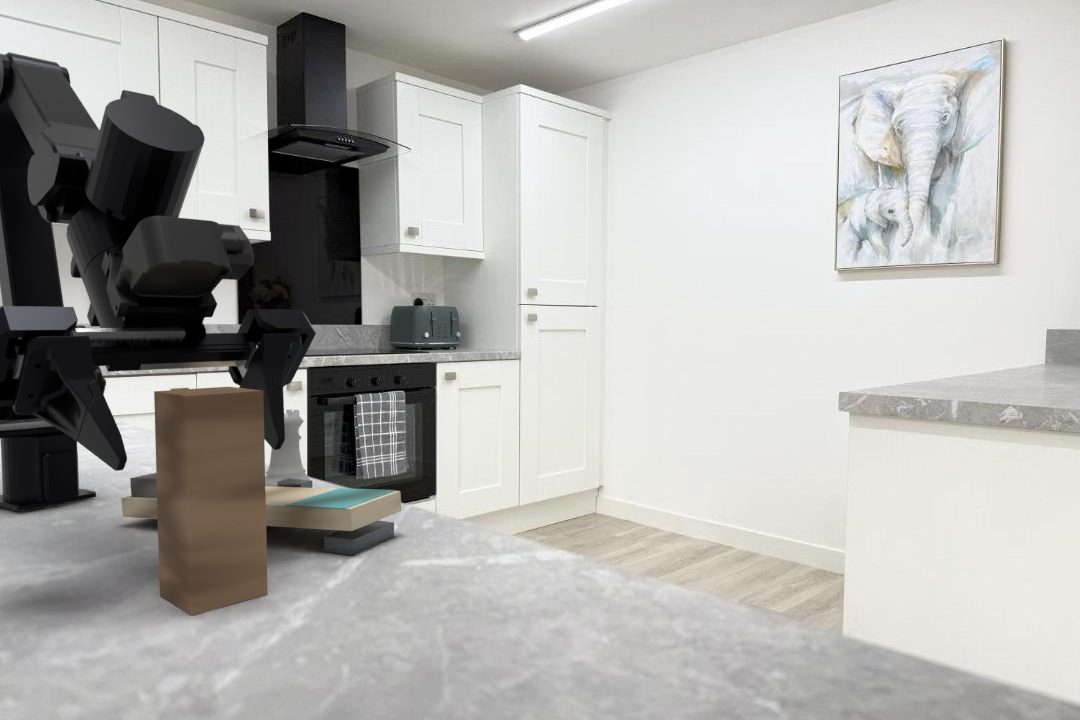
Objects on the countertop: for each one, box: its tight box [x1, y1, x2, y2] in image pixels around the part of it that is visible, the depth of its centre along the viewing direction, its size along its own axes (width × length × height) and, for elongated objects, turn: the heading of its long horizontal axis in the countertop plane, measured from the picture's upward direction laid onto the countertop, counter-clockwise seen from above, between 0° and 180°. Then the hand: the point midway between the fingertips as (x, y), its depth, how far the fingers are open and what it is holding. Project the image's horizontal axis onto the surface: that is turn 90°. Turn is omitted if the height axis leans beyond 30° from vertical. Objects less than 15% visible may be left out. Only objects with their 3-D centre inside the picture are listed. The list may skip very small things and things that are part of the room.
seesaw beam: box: [121, 472, 402, 531], centre depth 59 cm, size 22×6×4 cm, turn 67°
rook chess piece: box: [265, 409, 311, 487], centre depth 69 cm, size 4×4×8 cm
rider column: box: [153, 386, 268, 617], centre depth 44 cm, size 4×4×12 cm
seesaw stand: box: [277, 478, 395, 556], centre depth 57 cm, size 12×10×3 cm
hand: (206, 454), depth 45 cm, fingers open, 9 cm apart
